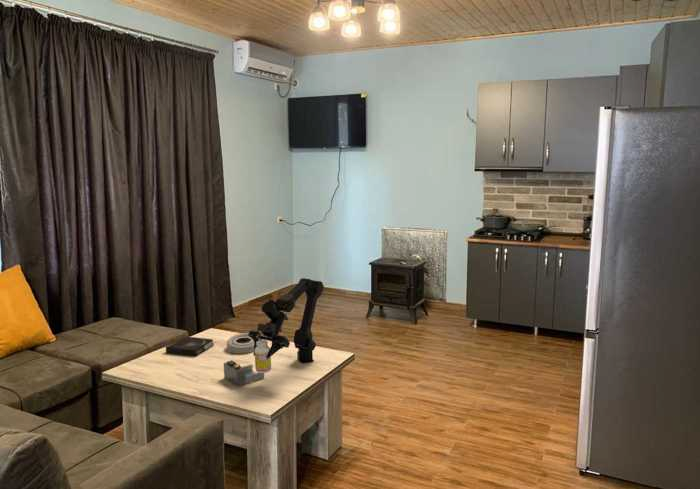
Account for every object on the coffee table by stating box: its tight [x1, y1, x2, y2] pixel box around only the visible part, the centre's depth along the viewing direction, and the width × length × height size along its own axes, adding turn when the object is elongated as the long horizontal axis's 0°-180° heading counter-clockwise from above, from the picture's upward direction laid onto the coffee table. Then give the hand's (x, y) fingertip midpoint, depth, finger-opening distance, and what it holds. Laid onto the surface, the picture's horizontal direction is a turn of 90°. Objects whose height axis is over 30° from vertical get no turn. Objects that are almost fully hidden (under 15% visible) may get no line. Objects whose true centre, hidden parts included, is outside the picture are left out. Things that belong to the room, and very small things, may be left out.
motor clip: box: [223, 360, 265, 387], centre depth 238 cm, size 14×12×8 cm
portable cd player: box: [165, 336, 215, 358], centre depth 274 cm, size 16×17×4 cm
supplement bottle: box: [254, 340, 272, 374], centre depth 229 cm, size 7×7×13 cm
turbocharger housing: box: [226, 332, 254, 355], centre depth 275 cm, size 17×6×15 cm
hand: (260, 356), depth 228 cm, fingers closed on supplement bottle, 7 cm apart
